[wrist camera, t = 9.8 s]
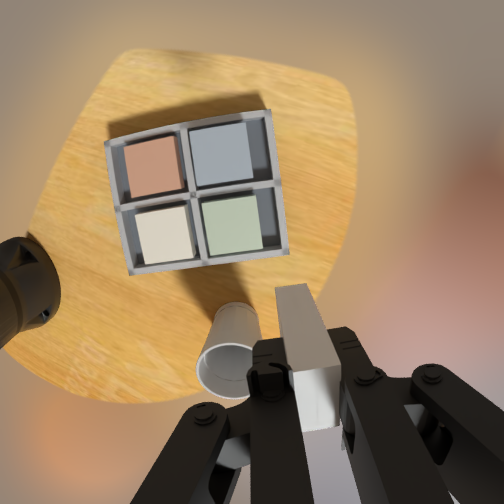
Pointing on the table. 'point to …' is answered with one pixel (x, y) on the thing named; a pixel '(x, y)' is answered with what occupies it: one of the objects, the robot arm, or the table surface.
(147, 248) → the key cream
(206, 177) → the key slate
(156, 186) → the key terracotta
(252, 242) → the key sage
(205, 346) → the cup
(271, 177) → the keypad base
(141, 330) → the table surface
